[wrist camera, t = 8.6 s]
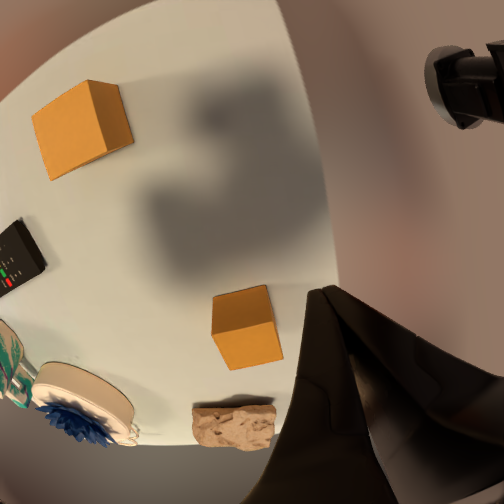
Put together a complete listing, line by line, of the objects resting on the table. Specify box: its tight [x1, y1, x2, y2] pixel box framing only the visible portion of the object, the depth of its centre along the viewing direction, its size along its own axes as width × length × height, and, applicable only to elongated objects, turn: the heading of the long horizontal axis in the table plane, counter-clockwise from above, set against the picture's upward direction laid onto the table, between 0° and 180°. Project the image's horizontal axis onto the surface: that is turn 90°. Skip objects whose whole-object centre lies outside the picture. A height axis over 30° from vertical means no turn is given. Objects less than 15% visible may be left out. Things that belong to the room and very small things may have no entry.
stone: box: [192, 405, 276, 451], centre depth 30 cm, size 9×11×5 cm
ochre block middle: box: [211, 285, 283, 370], centre depth 21 cm, size 4×4×4 cm
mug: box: [0, 320, 35, 408], centre depth 21 cm, size 8×12×8 cm
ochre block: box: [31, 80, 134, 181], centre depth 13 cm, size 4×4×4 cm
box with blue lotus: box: [31, 363, 139, 448], centre depth 28 cm, size 7×16×20 cm
